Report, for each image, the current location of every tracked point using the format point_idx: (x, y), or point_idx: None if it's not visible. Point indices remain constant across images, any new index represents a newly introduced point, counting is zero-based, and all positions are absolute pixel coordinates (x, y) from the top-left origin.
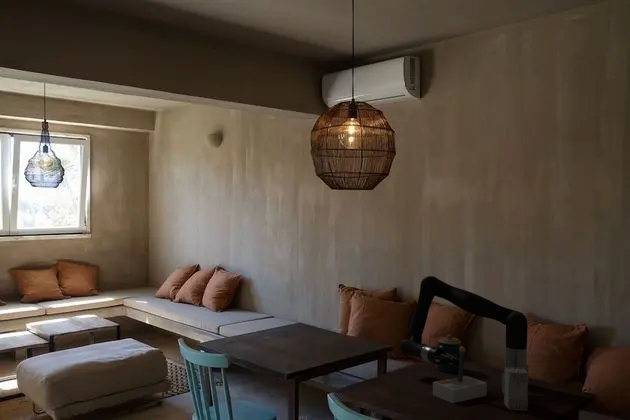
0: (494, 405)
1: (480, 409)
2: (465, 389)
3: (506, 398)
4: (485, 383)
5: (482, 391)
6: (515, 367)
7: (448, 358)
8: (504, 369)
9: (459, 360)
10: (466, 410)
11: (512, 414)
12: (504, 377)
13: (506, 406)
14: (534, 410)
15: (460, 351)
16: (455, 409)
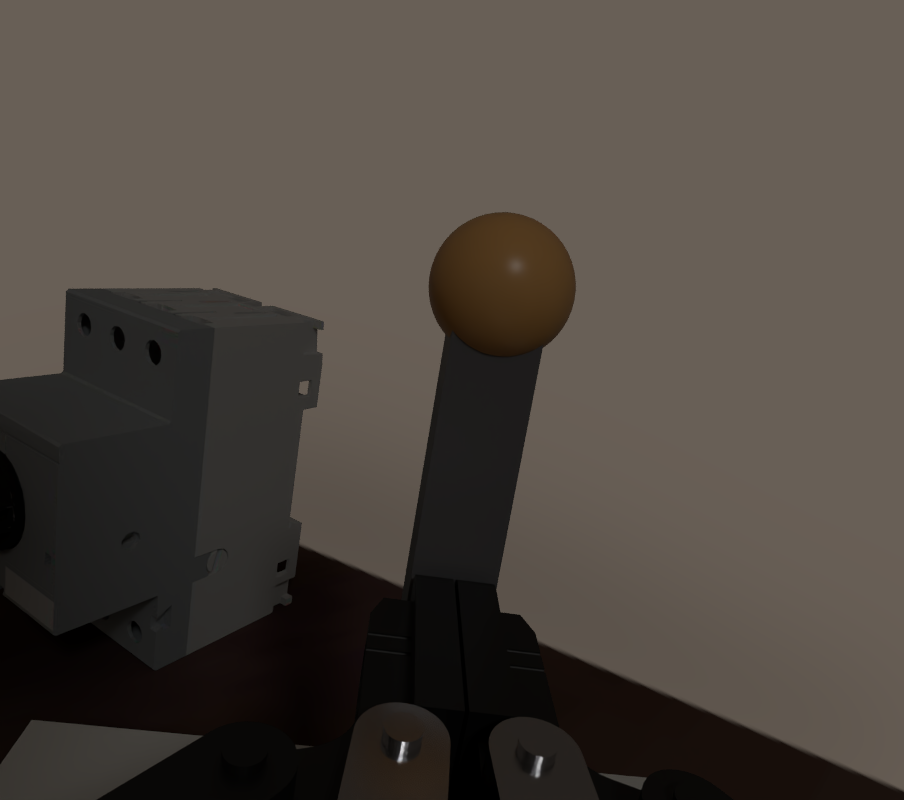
0: (300, 679)
1: None
2: None
3: (242, 570)
4: (61, 728)
5: None
6: (118, 305)
7: (661, 798)
8: (176, 359)
9: (500, 556)
10: (624, 734)
11: (355, 567)
12: (177, 438)
13: (239, 628)
14: None
15: (552, 336)
16: None
